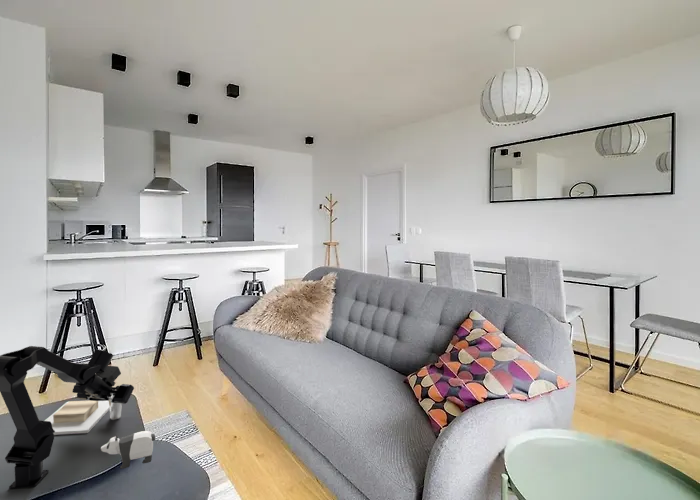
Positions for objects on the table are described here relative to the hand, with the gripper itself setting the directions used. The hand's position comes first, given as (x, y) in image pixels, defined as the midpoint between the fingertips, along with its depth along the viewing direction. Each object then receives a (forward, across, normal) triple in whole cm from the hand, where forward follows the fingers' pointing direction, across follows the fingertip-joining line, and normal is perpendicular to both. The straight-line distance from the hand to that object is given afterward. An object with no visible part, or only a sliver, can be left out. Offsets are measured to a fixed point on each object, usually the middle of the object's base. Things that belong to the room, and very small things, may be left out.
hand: (117, 399), depth 138 cm
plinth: (+2, +14, +7) cm, 16 cm away
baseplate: (+2, +14, +7) cm, 16 cm away
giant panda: (-11, -23, +21) cm, 33 cm away
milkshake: (+4, 0, +6) cm, 7 cm away
